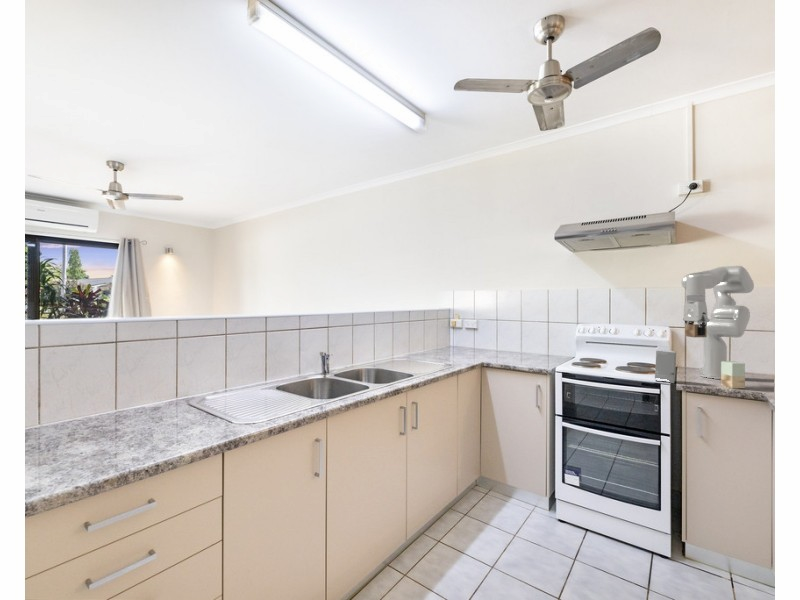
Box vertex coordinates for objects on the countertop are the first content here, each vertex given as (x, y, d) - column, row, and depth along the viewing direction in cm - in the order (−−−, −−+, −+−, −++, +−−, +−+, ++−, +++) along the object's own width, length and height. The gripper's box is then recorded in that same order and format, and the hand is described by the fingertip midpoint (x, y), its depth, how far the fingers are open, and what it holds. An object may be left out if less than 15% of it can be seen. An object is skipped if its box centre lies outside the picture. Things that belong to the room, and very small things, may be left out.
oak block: (721, 386, 182) (721, 373, 182) (733, 386, 182) (733, 373, 182) (732, 388, 176) (732, 376, 176) (744, 388, 176) (745, 376, 176)
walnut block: (685, 336, 192) (685, 324, 192) (696, 336, 192) (696, 324, 192) (694, 337, 186) (694, 325, 186) (706, 337, 186) (706, 325, 186)
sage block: (721, 373, 182) (721, 361, 182) (733, 373, 182) (733, 361, 182) (732, 376, 176) (732, 363, 176) (745, 376, 176) (745, 363, 176)
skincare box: (654, 381, 192) (654, 350, 192) (656, 379, 197) (656, 349, 197) (675, 383, 186) (675, 351, 186) (676, 381, 192) (676, 350, 192)
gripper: (675, 298, 197) (675, 333, 198) (702, 299, 180) (702, 336, 180) (689, 298, 197) (689, 332, 198) (717, 299, 180) (717, 336, 180)
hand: (695, 334), depth 189 cm, fingers closed on walnut block, 6 cm apart
